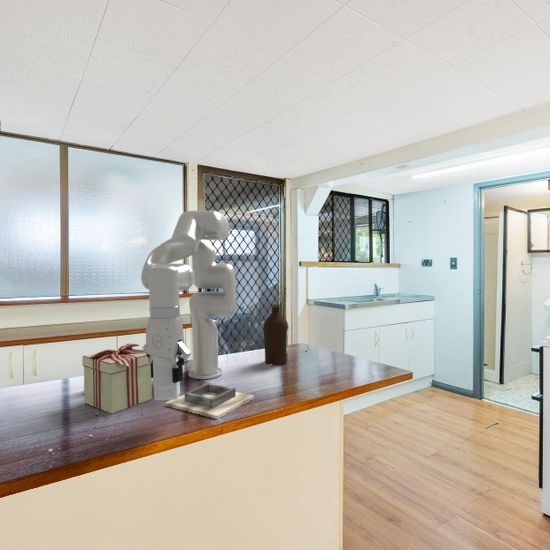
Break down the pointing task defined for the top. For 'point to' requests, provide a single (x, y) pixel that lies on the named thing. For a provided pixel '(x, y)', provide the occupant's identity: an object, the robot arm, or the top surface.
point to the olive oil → (276, 337)
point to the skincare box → (164, 379)
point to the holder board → (210, 400)
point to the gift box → (117, 378)
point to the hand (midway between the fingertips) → (166, 378)
